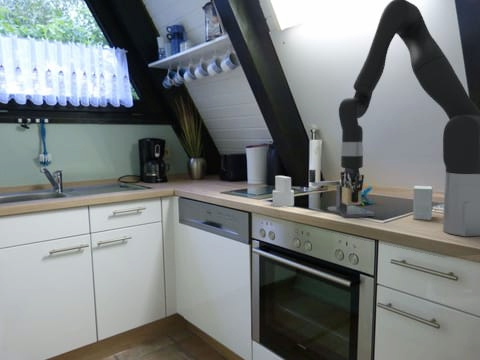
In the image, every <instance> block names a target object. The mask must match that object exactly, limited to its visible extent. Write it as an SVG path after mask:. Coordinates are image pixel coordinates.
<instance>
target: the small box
mask: <svg viewBox="0 0 480 360" xmlns="http://www.w3.org/2000/svg"><path fill="white" fill-rule="evenodd" d="M412 203H413V207H412V208H413V209H412V212H413V213H412V219H413V220H427V221H432V215H433V214H432V212H433V187H432V186H431V185H430V186H428V185H414V186H413V202H412Z"/></svg>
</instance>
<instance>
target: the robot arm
mask: <svg viewBox="0 0 480 360" xmlns="http://www.w3.org/2000/svg"><path fill="white" fill-rule="evenodd" d="M384 7H385V8H384V9H383V11H382V13H381V15H380V18H379V20H378V24H377V27H376V31H375V34H374V35H373V39H372V42H371V45H370V47H369V51H368V53H367V56H366V58H365V60H364V63H363V65H362V67H361V69H360V71H359V73H358V75H357V77H356V79H355V81H354V84H353V89H354V91H355V93H354V95H353V97H346V98H344V99H343V100H342V101H340V104H339V107H338V117H339V122H340V126H341V130H342V134H341V135H342V136H341V147H340V148H341V151H340V156H341V157H340V158H341V159H340V167H341V168H342V169H344V171H341V172H340V180H341V184H342V187H347V186H351V188H352V202H353V203H355V202H358V192H359V191H361V192H363V185H364V181H365V180H364V178H365V175H364V174H360V169H362V168H363V166H364V145H363V137H364V136H363V133H364V131H363V127H362V126H361V125H360V124H359V121H358V120H359V119H361V118H362V117H363V116H364V115H365V114H367V111H368V109H369V107H370V104H371V100H372V98H373V97H372V95H373V92H374V90H375V89H376V87H377V85H378V83H379V81H380V80H381V77H382V76H383V73H384V70H385V67H386V66H385V65H386V61H387V56H388V55H387V54H388V51H389V48H390V45H391V42H392V41H393V40H394V39H393V38H395V36H396V35H397V36H398V37H399V38H400V39H401V41H402V42H403V43H404V44H405V46H406V48H407V50H408V53H409V56H410V64H411V69H412V73H413V74H414V77H416V79H417V81H418V83H419V85H420V87H421V88H422V89H423V91H424V92H425V93H426V95H428V96H429V98H431V99H432V100H433V101H434V102H435V103H437V105H438V106H440V107H441V109H442V110H443V111H444V113H445V114H446V116H447V117H448V119H449V120H448V121H447V122H446V124H445V126H444V128H443V135H442V157H443V158H442V159H443V164H444V166H445V177H444V178H445V179H444V197H443V198H444V201H443V221H442V222H443V223H442V224H443V225H442V226H443V227H442V231H443V232H445V233H447V234H452V235H456V236H462V237H478V236H480V109H478V107H477V105H476V104H475V103H474V102H473V101H472V99H471V98H470V96H469V95H468V92H467V91H466V89H465V88H464V87H465V86H463V83H462V81H461V80H460V78H459V76H458V75H457V73H456V71H455V70H454V68H453V66H452V64H451V63H450V61H449V59H448V57H447V56H446V54H445V53H444V51H443V50H442V48H441V47H440V46H439V44H438V43H437V41H436V40H435V39H434V38H433V37H432V34H431V33H430V31H429V29H428V27H427V24H426V22H425V20H424V17H423V15H422V13H421V11H420V9H419V7H417V6H416V5H415V4H414V3H411V2H410V1H408V0H391V1H389V2H388V3H387V5H386V6H384Z"/></svg>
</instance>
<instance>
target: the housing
mask: <svg viewBox="0 0 480 360" xmlns="http://www.w3.org/2000/svg"><path fill="white" fill-rule="evenodd" d="M361 192H362V191H359V192H358V202H355V203H353V202H352V188H351V186H347V187H342V203H344V204H347V206H353V205H354V206H358V205H362V204H361Z"/></svg>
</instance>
